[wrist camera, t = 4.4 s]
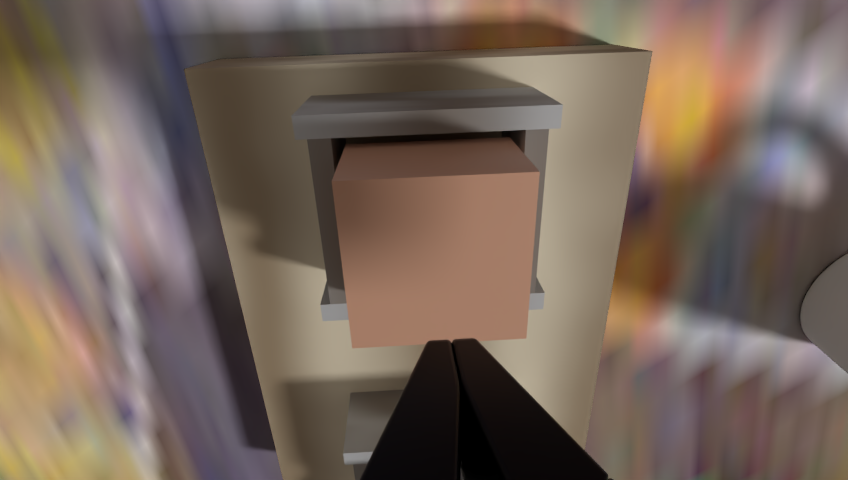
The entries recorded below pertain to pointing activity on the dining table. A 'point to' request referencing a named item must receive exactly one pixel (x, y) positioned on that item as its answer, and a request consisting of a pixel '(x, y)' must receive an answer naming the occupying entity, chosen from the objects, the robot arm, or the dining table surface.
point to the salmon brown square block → (436, 240)
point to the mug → (829, 312)
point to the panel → (318, 235)
